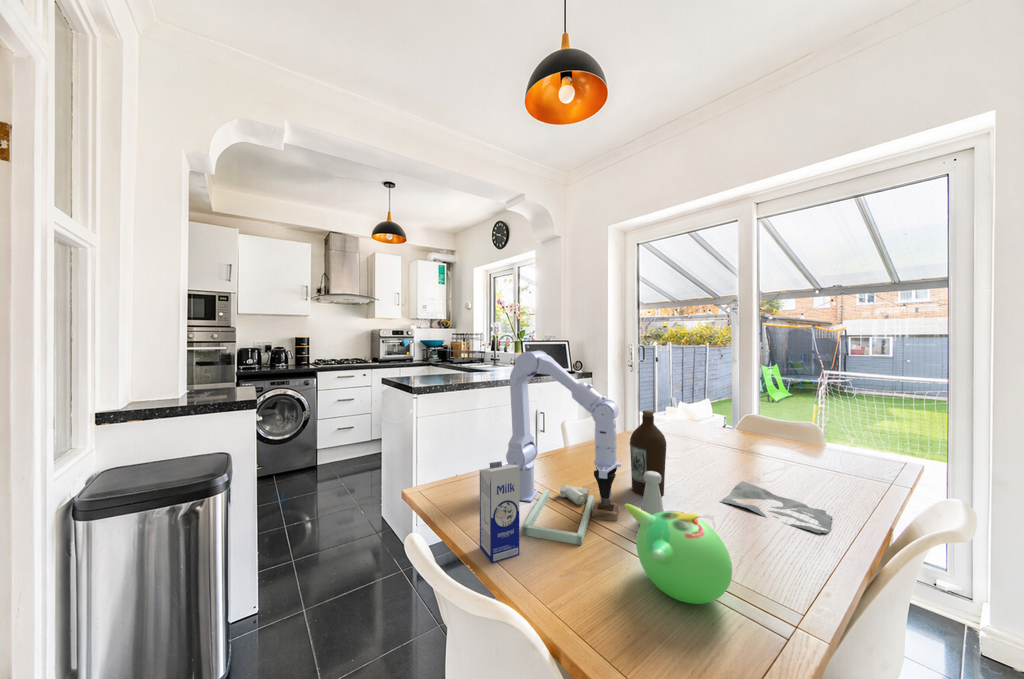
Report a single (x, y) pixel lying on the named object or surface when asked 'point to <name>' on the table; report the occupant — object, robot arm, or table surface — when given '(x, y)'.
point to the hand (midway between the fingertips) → (605, 495)
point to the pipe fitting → (574, 493)
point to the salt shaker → (652, 493)
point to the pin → (606, 501)
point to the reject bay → (552, 533)
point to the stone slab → (754, 492)
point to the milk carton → (499, 511)
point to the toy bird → (682, 555)
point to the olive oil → (647, 453)
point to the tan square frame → (605, 514)
